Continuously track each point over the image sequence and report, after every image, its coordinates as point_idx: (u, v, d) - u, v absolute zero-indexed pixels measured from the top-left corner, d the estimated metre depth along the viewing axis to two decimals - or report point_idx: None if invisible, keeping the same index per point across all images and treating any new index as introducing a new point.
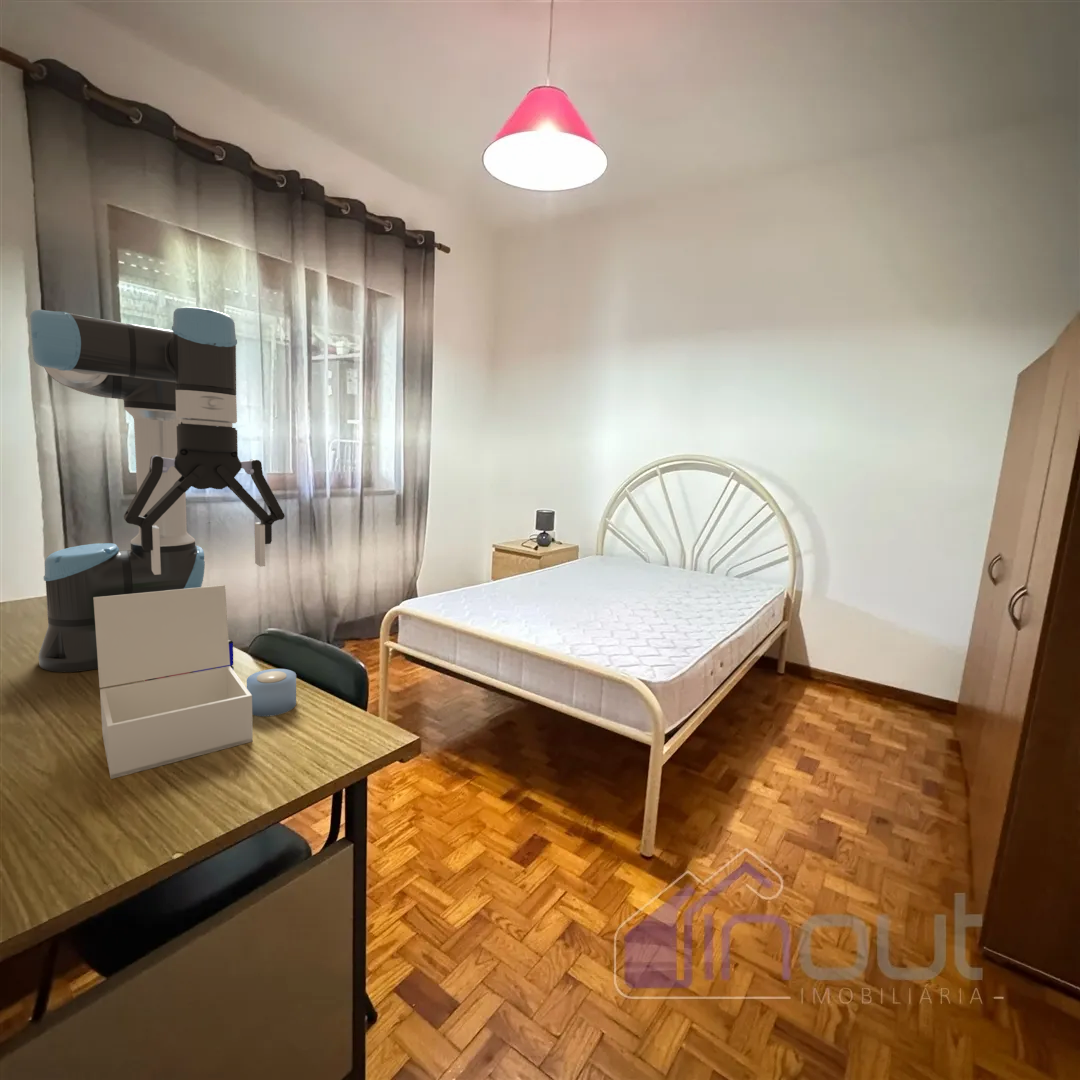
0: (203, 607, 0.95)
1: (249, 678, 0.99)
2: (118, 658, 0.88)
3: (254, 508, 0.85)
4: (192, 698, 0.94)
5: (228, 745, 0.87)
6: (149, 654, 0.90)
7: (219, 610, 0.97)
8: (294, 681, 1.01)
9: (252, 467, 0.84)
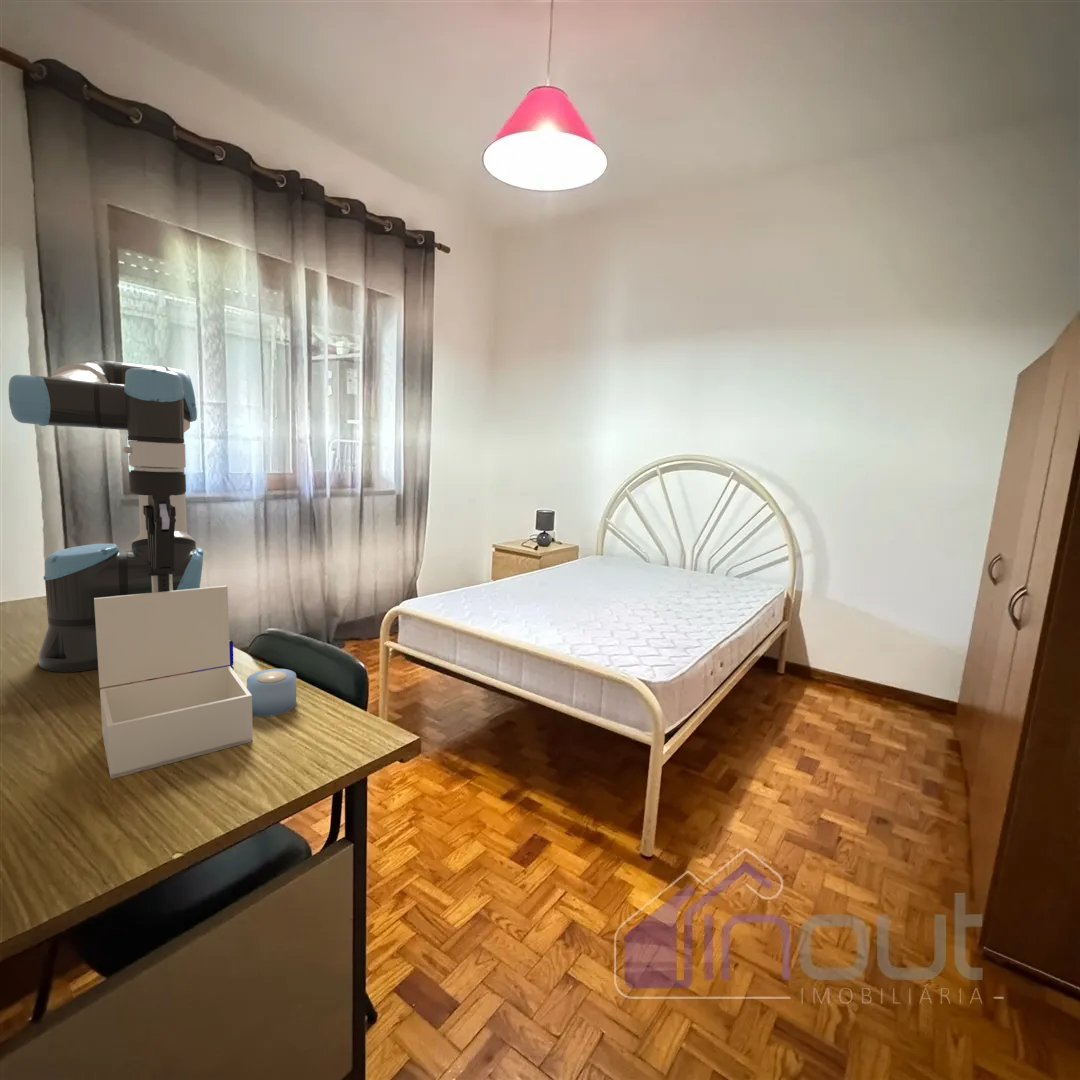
0: (204, 608, 0.94)
1: (249, 678, 0.99)
2: (118, 659, 0.87)
3: (153, 554, 0.90)
4: (192, 698, 0.94)
5: (228, 745, 0.87)
6: (149, 655, 0.90)
7: (221, 611, 0.96)
8: (294, 681, 1.01)
9: None
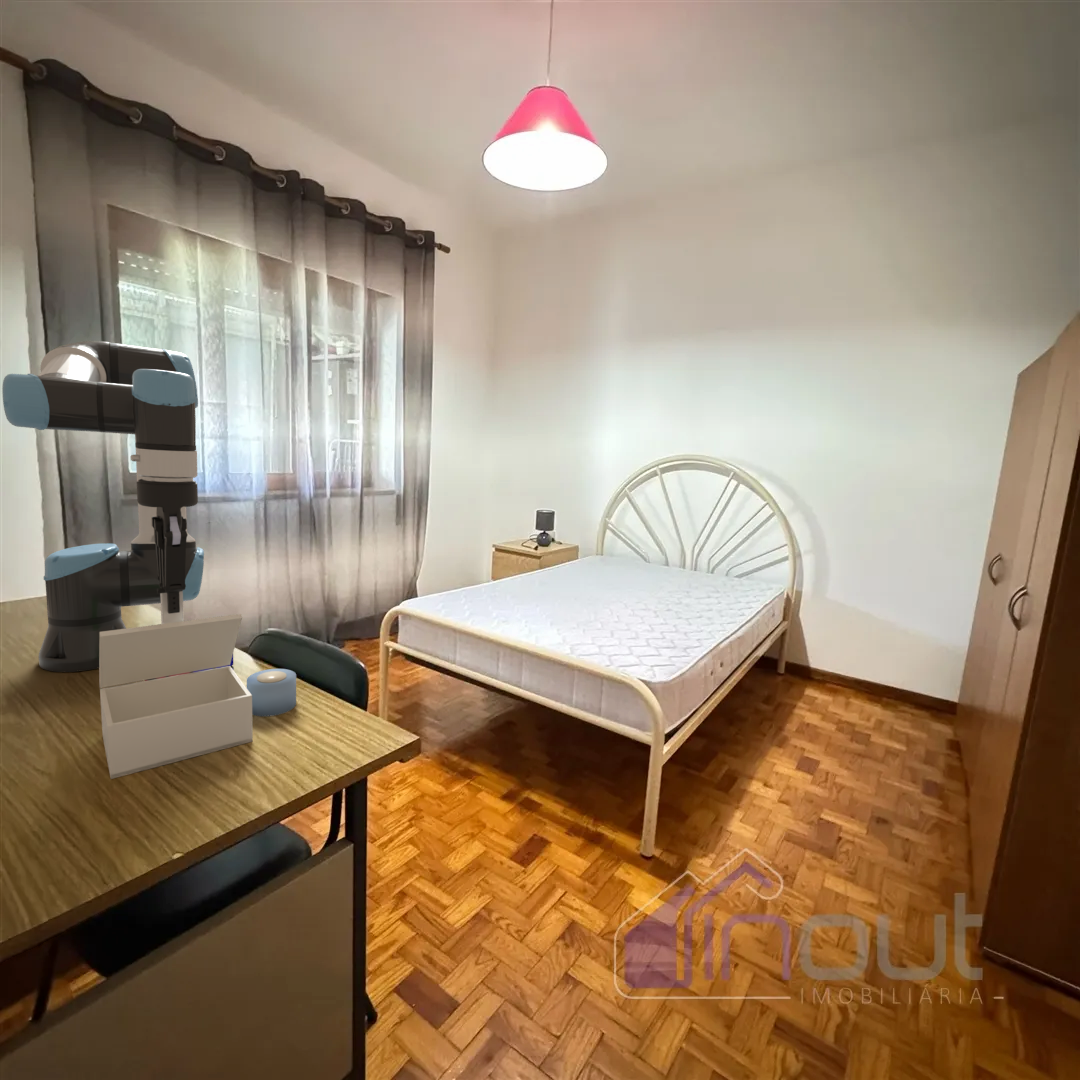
0: (214, 633, 0.90)
1: (249, 678, 0.99)
2: (120, 670, 0.85)
3: (162, 570, 0.83)
4: (192, 698, 0.94)
5: (228, 745, 0.87)
6: (152, 665, 0.88)
7: (230, 634, 0.92)
8: (294, 681, 1.01)
9: None
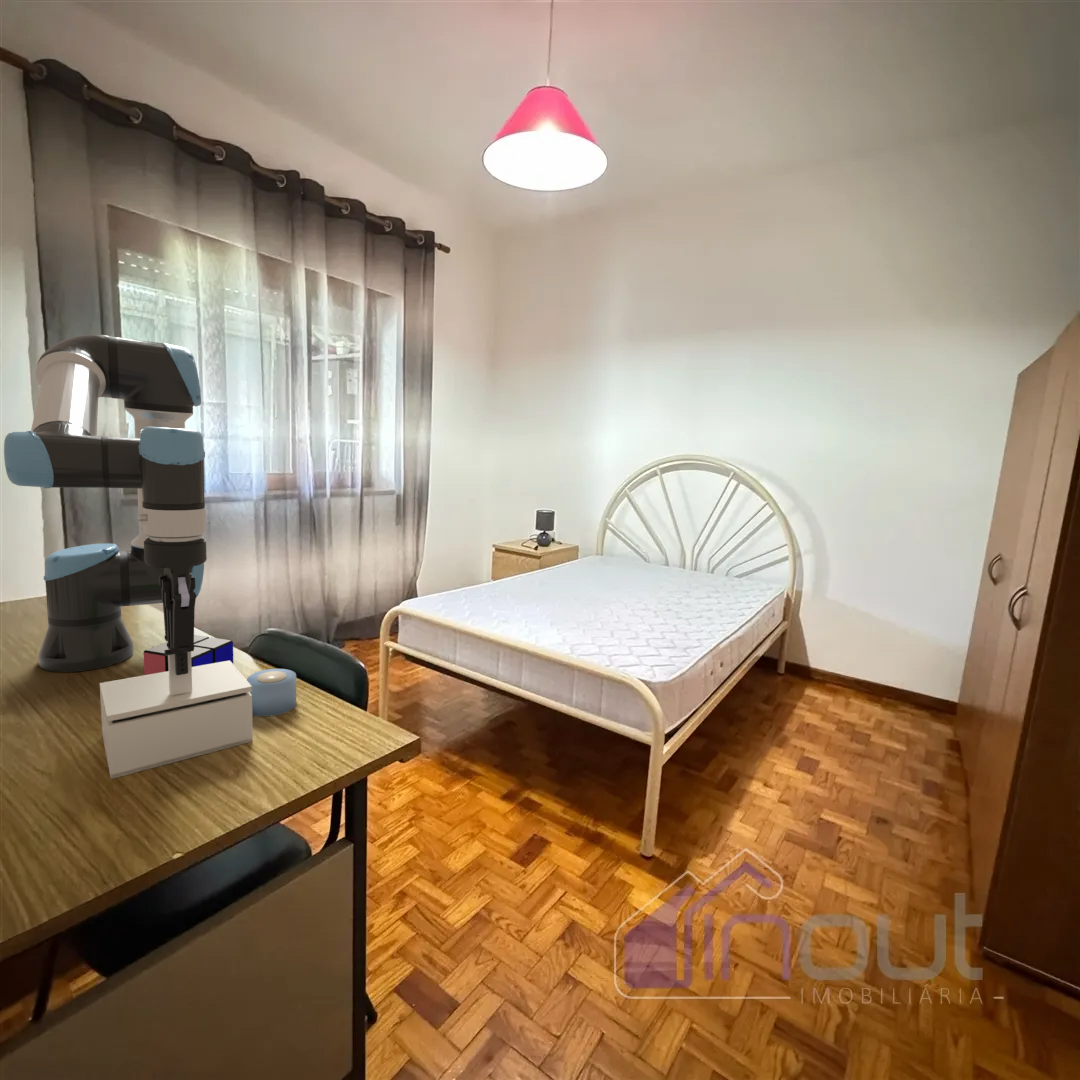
0: None
1: (249, 678, 0.99)
2: None
3: (170, 631, 0.81)
4: None
5: (228, 745, 0.87)
6: None
7: None
8: (294, 681, 1.01)
9: None
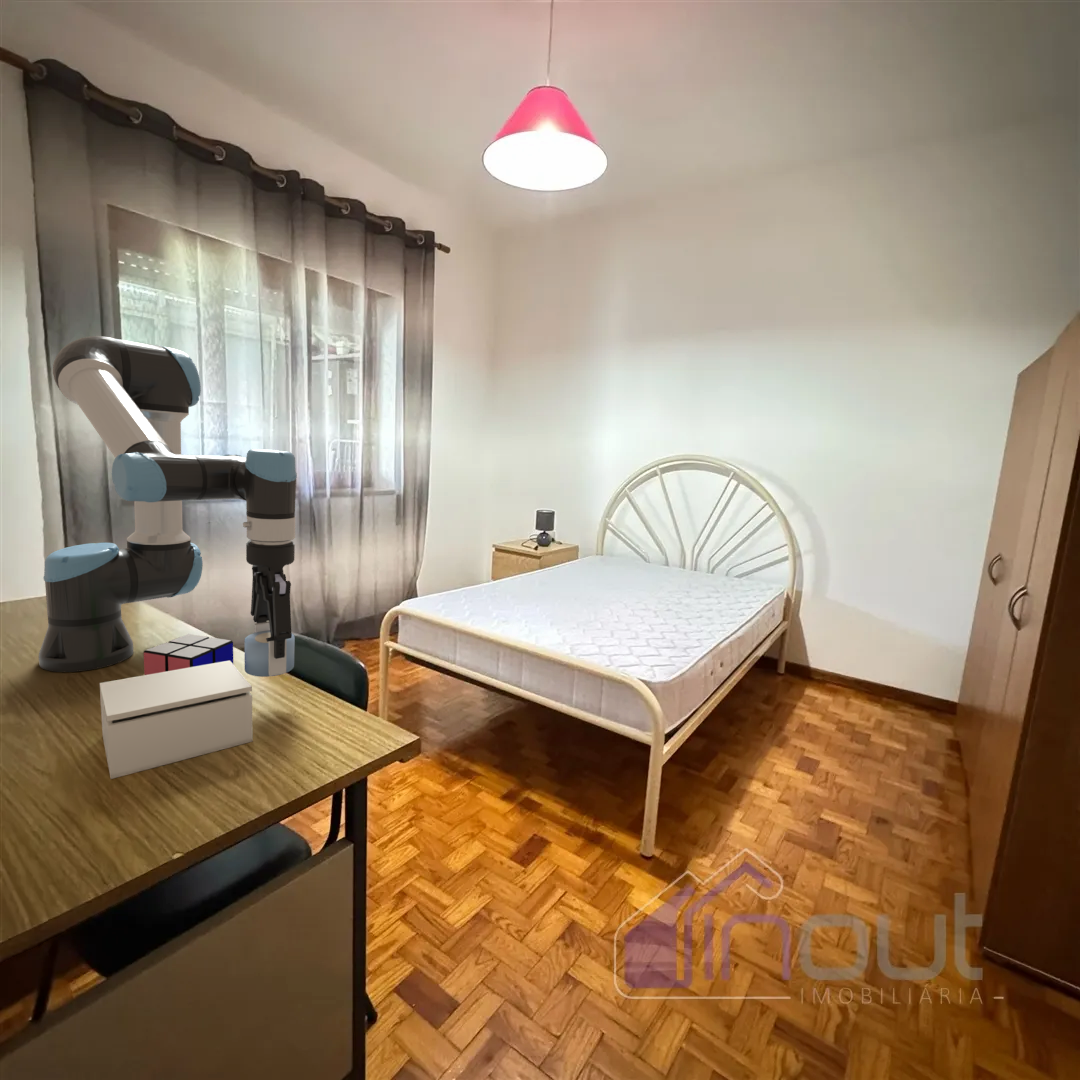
0: None
1: (247, 638, 0.98)
2: None
3: (269, 621, 0.95)
4: None
5: (228, 745, 0.87)
6: None
7: None
8: (292, 642, 1.00)
9: None
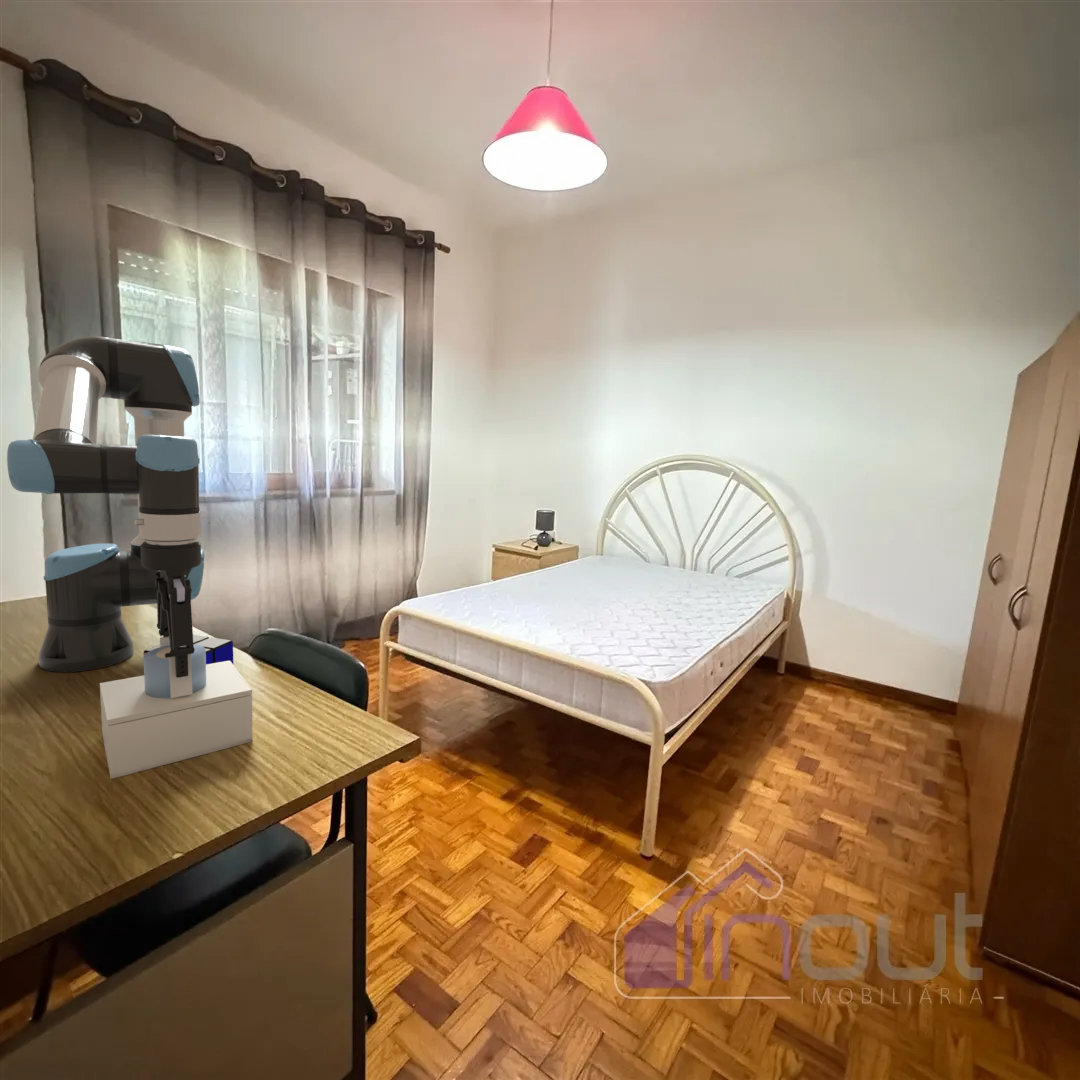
0: None
1: (148, 653, 0.85)
2: None
3: (169, 634, 0.82)
4: None
5: (228, 745, 0.87)
6: None
7: None
8: (202, 657, 0.86)
9: None
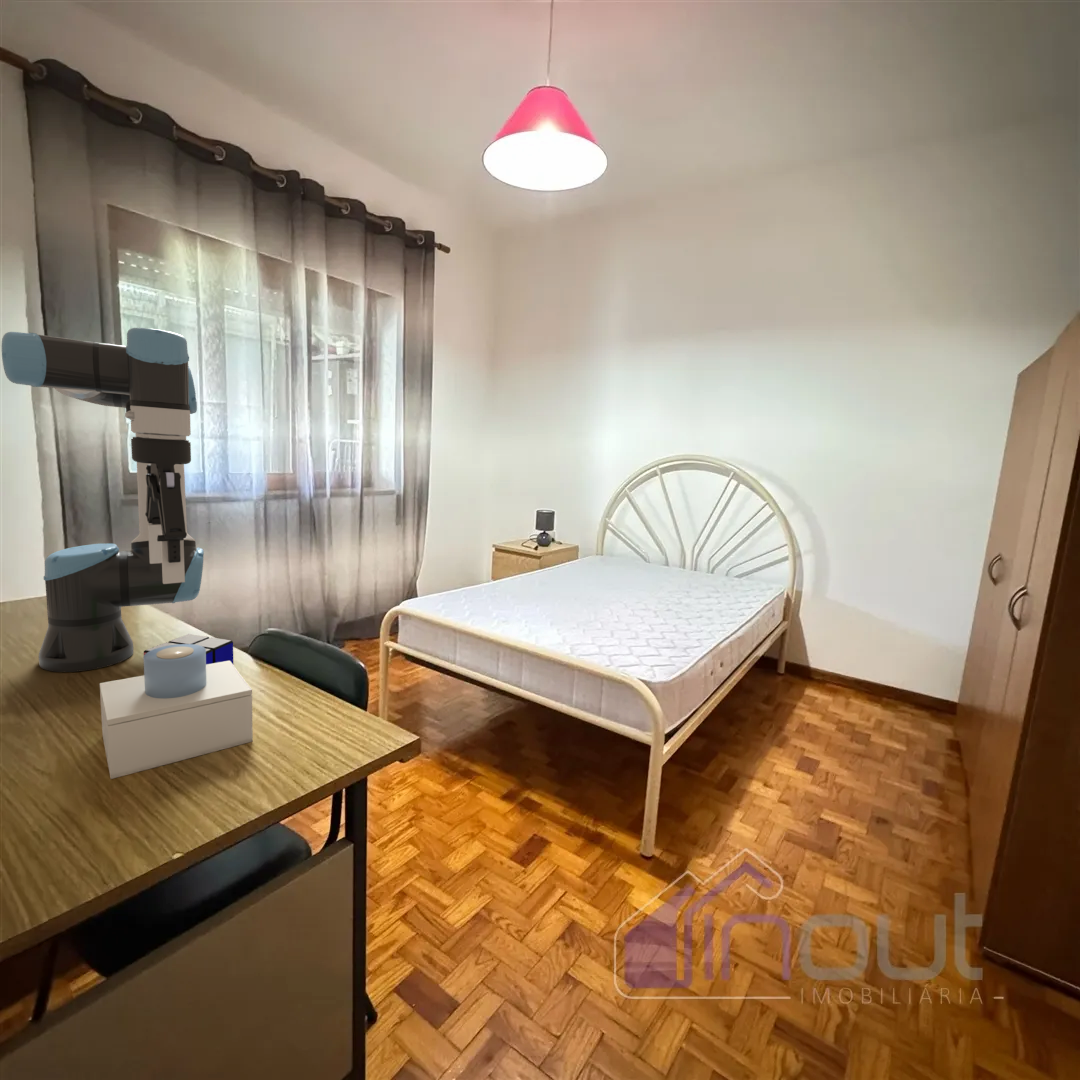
0: None
1: (148, 654, 0.85)
2: None
3: (160, 521, 0.82)
4: None
5: (228, 745, 0.87)
6: None
7: None
8: (202, 658, 0.86)
9: None
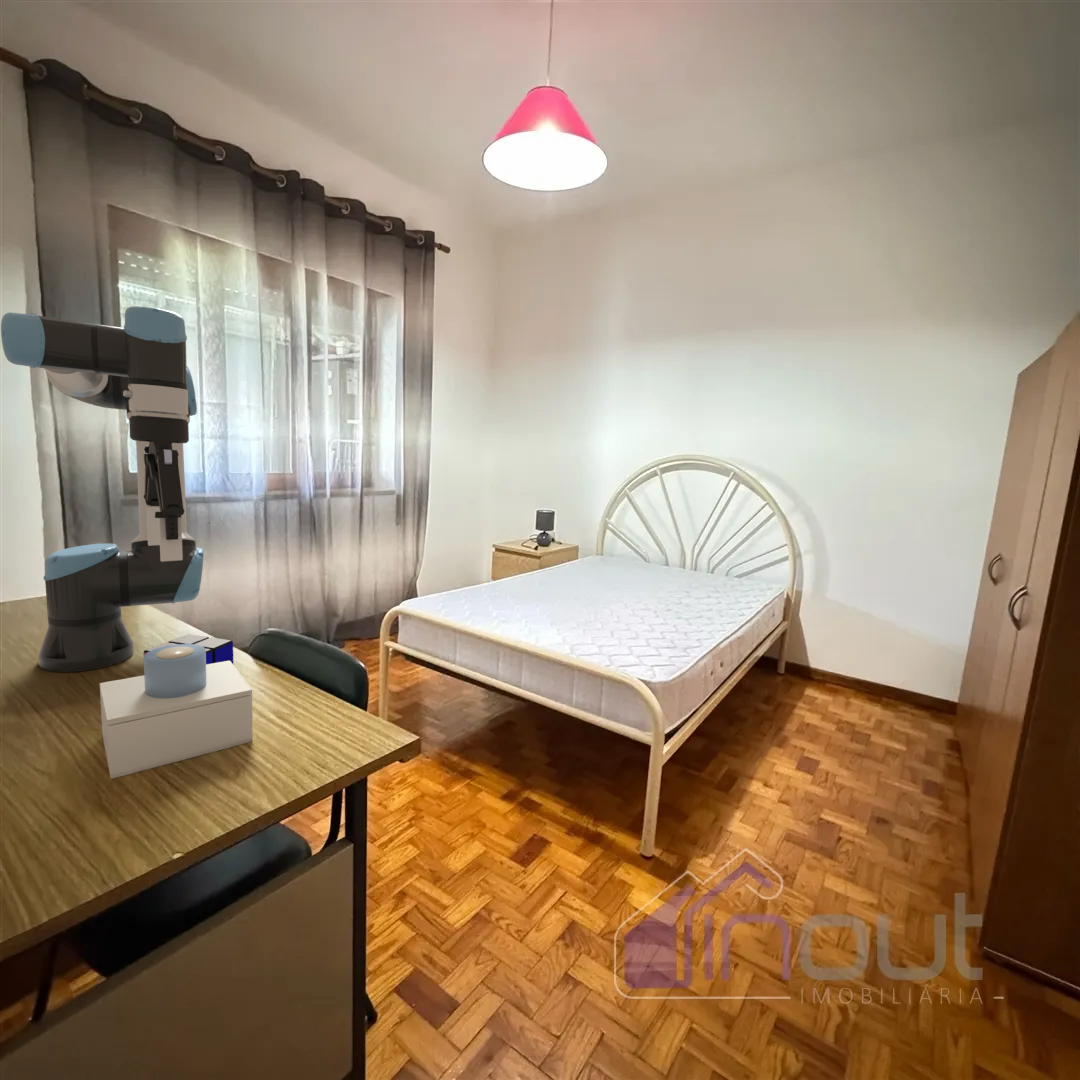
0: None
1: (148, 654, 0.85)
2: None
3: (158, 499, 0.82)
4: None
5: (228, 745, 0.87)
6: None
7: None
8: (202, 658, 0.86)
9: None
